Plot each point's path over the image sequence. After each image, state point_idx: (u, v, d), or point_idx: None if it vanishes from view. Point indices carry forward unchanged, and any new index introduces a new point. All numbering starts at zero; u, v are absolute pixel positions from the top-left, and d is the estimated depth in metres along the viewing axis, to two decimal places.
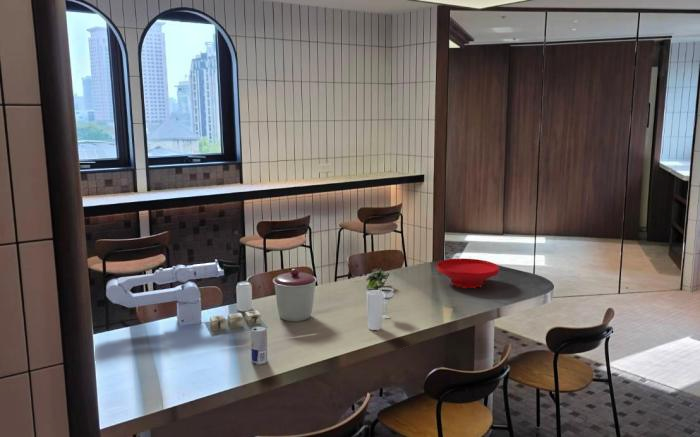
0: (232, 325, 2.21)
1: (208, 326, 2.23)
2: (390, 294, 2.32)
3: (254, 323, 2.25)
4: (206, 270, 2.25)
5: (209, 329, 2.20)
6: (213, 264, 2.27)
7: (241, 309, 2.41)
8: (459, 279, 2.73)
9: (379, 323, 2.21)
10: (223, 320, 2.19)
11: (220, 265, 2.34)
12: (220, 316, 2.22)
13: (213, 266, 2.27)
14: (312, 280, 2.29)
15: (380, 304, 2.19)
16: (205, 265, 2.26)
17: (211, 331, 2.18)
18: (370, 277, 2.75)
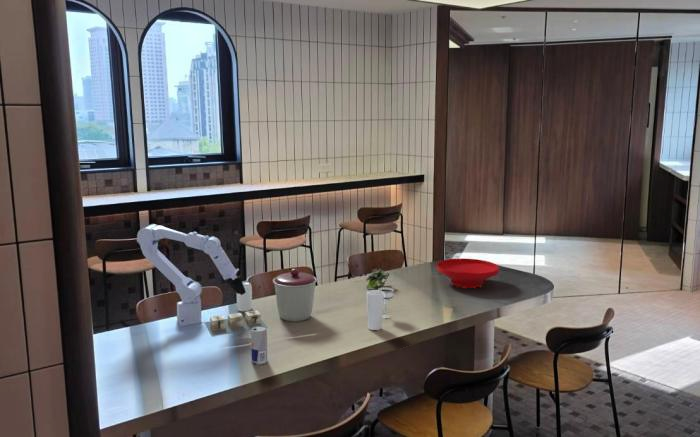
0: (232, 325, 2.21)
1: (208, 326, 2.23)
2: (390, 294, 2.32)
3: (254, 323, 2.25)
4: (226, 264, 2.22)
5: (209, 329, 2.20)
6: (234, 268, 2.25)
7: (241, 309, 2.41)
8: (459, 279, 2.73)
9: (379, 323, 2.21)
10: (223, 320, 2.19)
11: None
12: (220, 316, 2.22)
13: (232, 269, 2.24)
14: (312, 280, 2.29)
15: (380, 304, 2.19)
16: (229, 261, 2.24)
17: (211, 331, 2.18)
18: (370, 277, 2.75)
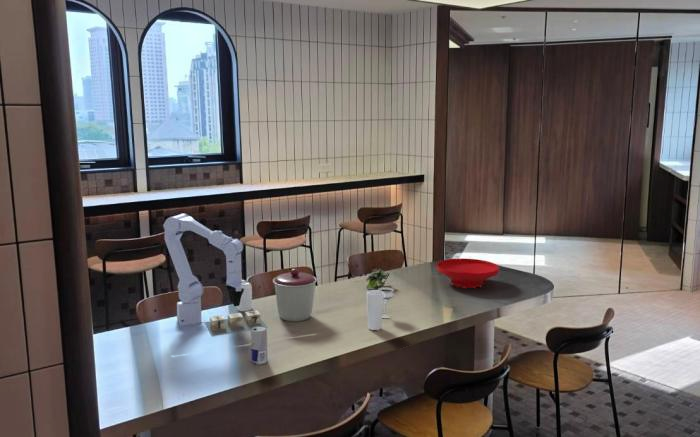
0: (232, 325, 2.21)
1: (208, 326, 2.23)
2: (390, 294, 2.32)
3: (254, 323, 2.25)
4: (237, 272, 2.18)
5: (209, 329, 2.20)
6: (241, 279, 2.21)
7: (241, 309, 2.41)
8: (459, 279, 2.73)
9: (379, 323, 2.21)
10: (223, 320, 2.19)
11: None
12: (220, 316, 2.22)
13: (240, 279, 2.20)
14: (312, 280, 2.29)
15: (380, 304, 2.19)
16: None
17: (211, 331, 2.18)
18: (370, 277, 2.75)
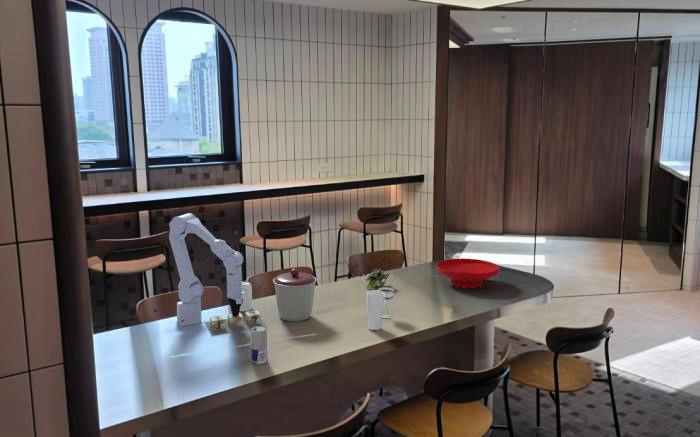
0: (232, 325, 2.21)
1: (208, 326, 2.23)
2: (390, 294, 2.32)
3: (254, 323, 2.25)
4: (237, 285, 2.19)
5: (209, 329, 2.20)
6: (241, 291, 2.22)
7: (241, 309, 2.41)
8: (459, 279, 2.73)
9: (379, 323, 2.21)
10: (223, 320, 2.19)
11: None
12: (220, 316, 2.22)
13: (240, 291, 2.21)
14: (312, 280, 2.29)
15: (380, 304, 2.19)
16: (241, 283, 2.21)
17: (211, 331, 2.18)
18: (370, 277, 2.75)
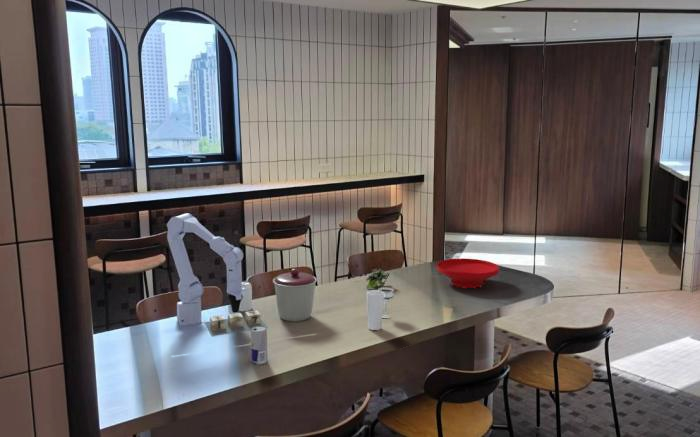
0: (232, 325, 2.21)
1: (208, 326, 2.23)
2: (390, 294, 2.32)
3: (254, 323, 2.25)
4: (237, 281, 2.19)
5: (209, 329, 2.20)
6: (241, 287, 2.21)
7: (241, 309, 2.41)
8: (459, 279, 2.73)
9: (379, 323, 2.21)
10: (223, 320, 2.19)
11: None
12: (220, 316, 2.22)
13: (240, 287, 2.20)
14: (312, 280, 2.29)
15: (380, 304, 2.19)
16: (241, 279, 2.21)
17: (211, 331, 2.18)
18: (370, 277, 2.75)
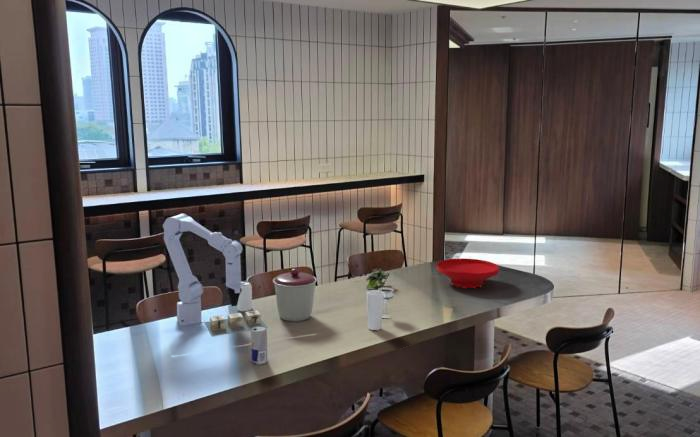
0: (232, 325, 2.21)
1: (208, 326, 2.23)
2: (390, 294, 2.32)
3: (254, 323, 2.25)
4: (236, 274, 2.19)
5: (209, 329, 2.20)
6: (240, 280, 2.22)
7: (241, 309, 2.41)
8: (459, 279, 2.73)
9: (379, 323, 2.21)
10: (223, 320, 2.19)
11: None
12: (220, 316, 2.22)
13: (239, 281, 2.21)
14: (312, 280, 2.29)
15: (380, 304, 2.19)
16: (240, 273, 2.21)
17: (211, 331, 2.18)
18: (370, 277, 2.75)
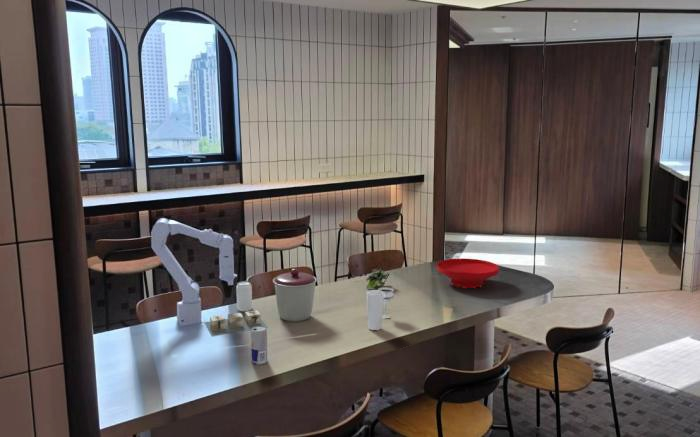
0: (232, 325, 2.21)
1: (208, 326, 2.23)
2: (390, 294, 2.32)
3: (254, 323, 2.25)
4: (229, 267, 2.26)
5: (209, 329, 2.20)
6: (233, 273, 2.29)
7: (241, 309, 2.41)
8: (459, 279, 2.73)
9: (379, 323, 2.21)
10: (223, 320, 2.19)
11: None
12: (220, 316, 2.22)
13: (232, 273, 2.28)
14: (312, 280, 2.29)
15: (380, 304, 2.19)
16: (233, 265, 2.28)
17: (211, 331, 2.18)
18: (370, 277, 2.75)
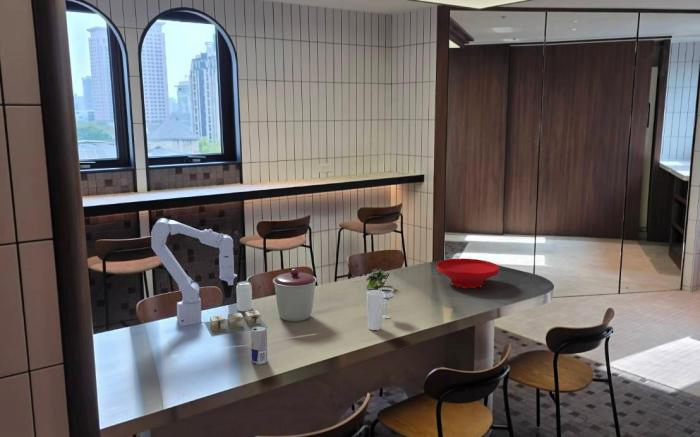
0: (232, 325, 2.21)
1: (208, 326, 2.23)
2: (390, 294, 2.32)
3: (254, 323, 2.25)
4: (229, 267, 2.26)
5: (209, 329, 2.20)
6: (233, 273, 2.29)
7: (241, 309, 2.41)
8: (459, 279, 2.73)
9: (379, 323, 2.21)
10: (223, 320, 2.19)
11: None
12: (220, 316, 2.22)
13: (232, 273, 2.28)
14: (312, 280, 2.29)
15: (380, 304, 2.19)
16: (233, 265, 2.28)
17: (211, 331, 2.18)
18: (370, 277, 2.75)
